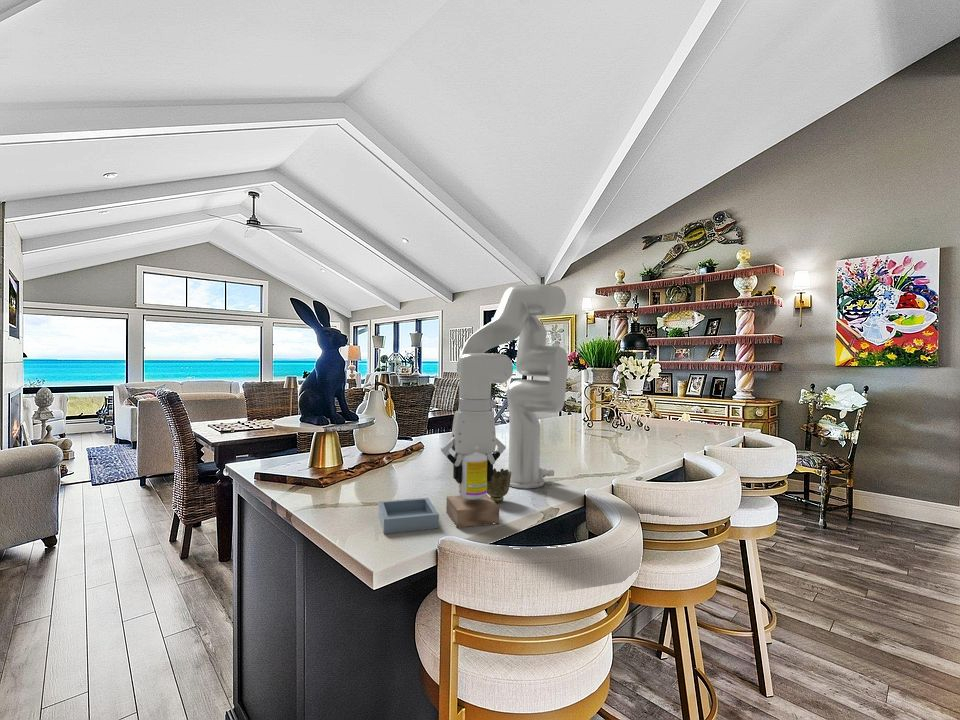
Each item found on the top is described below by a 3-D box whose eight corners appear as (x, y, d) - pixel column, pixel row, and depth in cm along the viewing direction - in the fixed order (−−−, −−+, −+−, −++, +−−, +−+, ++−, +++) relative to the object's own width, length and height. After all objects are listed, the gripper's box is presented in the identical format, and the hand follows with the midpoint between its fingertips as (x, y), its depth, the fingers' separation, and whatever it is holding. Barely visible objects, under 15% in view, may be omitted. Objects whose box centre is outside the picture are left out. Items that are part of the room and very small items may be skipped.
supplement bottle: (492, 496, 105) (493, 442, 105) (472, 502, 101) (473, 446, 100) (473, 489, 110) (474, 438, 110) (453, 495, 105) (454, 441, 105)
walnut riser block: (484, 509, 111) (485, 493, 111) (498, 523, 102) (499, 506, 102) (446, 512, 108) (446, 496, 108) (457, 528, 99) (457, 510, 99)
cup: (480, 504, 115) (481, 474, 115) (484, 496, 122) (485, 467, 122) (509, 507, 114) (510, 475, 114) (511, 497, 121) (512, 468, 121)
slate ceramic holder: (427, 510, 110) (428, 497, 110) (438, 528, 99) (438, 514, 99) (378, 514, 106) (378, 501, 106) (383, 533, 95) (384, 519, 95)
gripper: (503, 403, 111) (501, 474, 112) (435, 404, 106) (433, 478, 106) (514, 407, 104) (512, 482, 104) (442, 408, 99) (441, 488, 99)
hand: (473, 480), depth 105 cm, fingers closed on supplement bottle, 6 cm apart
